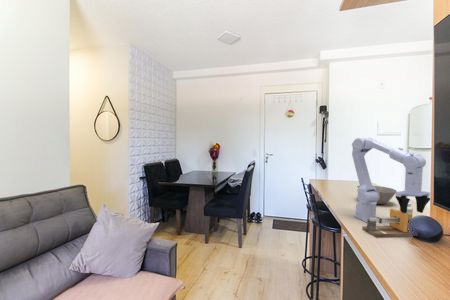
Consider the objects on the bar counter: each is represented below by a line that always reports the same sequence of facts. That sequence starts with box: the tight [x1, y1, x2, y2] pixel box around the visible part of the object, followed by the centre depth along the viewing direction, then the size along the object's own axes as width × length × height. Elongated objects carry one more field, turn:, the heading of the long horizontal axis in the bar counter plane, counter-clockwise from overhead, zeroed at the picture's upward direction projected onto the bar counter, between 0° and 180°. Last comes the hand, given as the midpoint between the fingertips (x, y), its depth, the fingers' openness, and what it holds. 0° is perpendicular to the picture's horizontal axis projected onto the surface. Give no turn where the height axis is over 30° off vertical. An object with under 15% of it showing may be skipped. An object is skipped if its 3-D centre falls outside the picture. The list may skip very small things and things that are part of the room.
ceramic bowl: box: [357, 185, 398, 205], centre depth 153 cm, size 22×23×10 cm
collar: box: [388, 208, 408, 232], centre depth 103 cm, size 8×2×8 cm, turn 4°
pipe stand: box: [361, 216, 413, 239], centre depth 103 cm, size 9×20×7 cm, turn 94°
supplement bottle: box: [399, 201, 414, 219], centre depth 119 cm, size 5×5×10 cm
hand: (411, 212), depth 101 cm, fingers open, 7 cm apart
